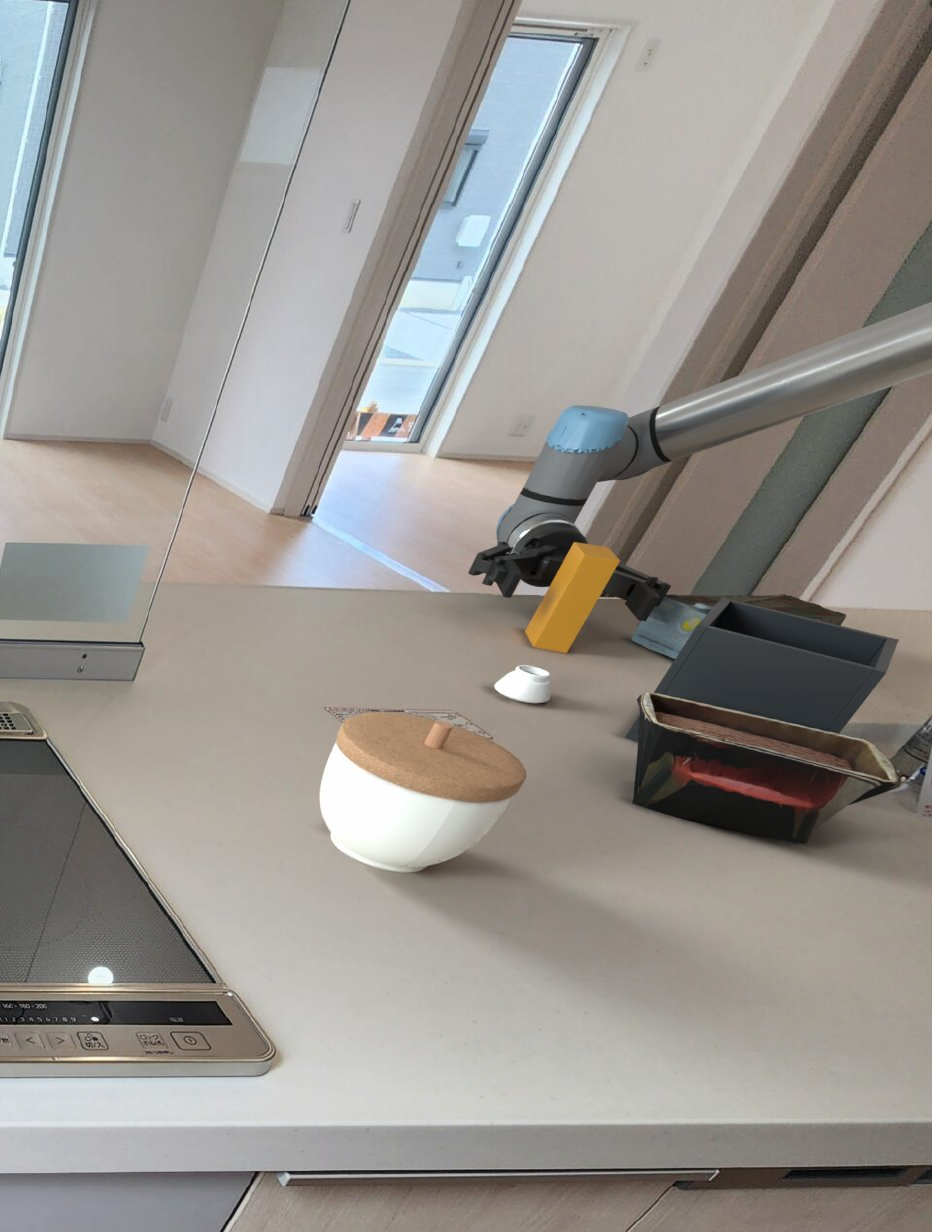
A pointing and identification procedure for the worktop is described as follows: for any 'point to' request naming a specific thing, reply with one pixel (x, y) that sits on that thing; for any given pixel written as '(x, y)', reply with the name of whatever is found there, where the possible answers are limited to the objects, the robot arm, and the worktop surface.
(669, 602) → the beverage carton
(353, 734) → the lidded bowl
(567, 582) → the block
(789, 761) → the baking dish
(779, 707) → the bin
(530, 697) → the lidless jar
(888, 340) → the robot arm
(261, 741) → the worktop surface
